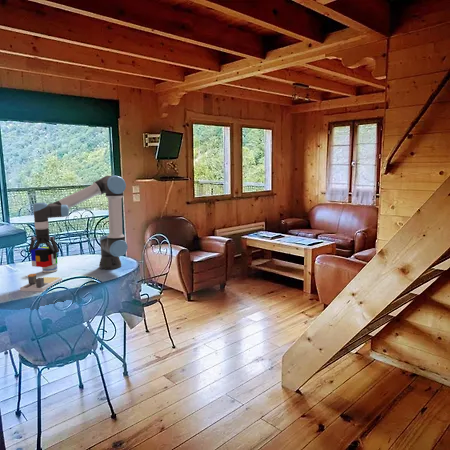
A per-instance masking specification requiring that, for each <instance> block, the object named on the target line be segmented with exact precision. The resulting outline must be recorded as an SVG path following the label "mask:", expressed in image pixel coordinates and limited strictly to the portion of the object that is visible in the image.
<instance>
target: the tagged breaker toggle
mask: <svg viewBox="0 0 450 450" xmlns="http://www.w3.org/2000/svg"><path fill="white" fill-rule="evenodd" d="M27 278H28V279H27V280H28V284H34V283H36V279H37V273H29V274H27Z"/></svg>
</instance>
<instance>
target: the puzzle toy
mask: <svg viewBox="0 0 450 450" xmlns="http://www.w3.org/2000/svg"><path fill="white" fill-rule="evenodd" d="M57 253H58V252H57ZM57 253H56V257H57V258H56V259H55V260H56V264H57V265H58V254H57ZM51 254H52V252H51V250H50V249H49V247H48V246H41V247H38V248H37V249H33V250H31V253H30V258H31V266H32V267H37V268H42V267H48V266H51V265H54V264H52V255H51Z"/></svg>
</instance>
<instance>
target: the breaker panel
mask: <svg viewBox="0 0 450 450" xmlns="http://www.w3.org/2000/svg"><path fill="white" fill-rule="evenodd" d="M40 278H44V286H42V287H36V283H34V284H29V283H27V284H25V285H23V286H21V287H19V291H20V292H45V291H47V290H48V289H47V288H48V287H50V286H52V285H53V284H55V283H57V282H59V281H61V280H62V281H63V277H57V276H56V277H53V276H50V277H48V276H44V277H40ZM62 281H61V282H62ZM59 283H60V282H59ZM52 287H53V286H52ZM50 288H51V287H50ZM46 289H47V290H46ZM44 290H45V291H44Z"/></svg>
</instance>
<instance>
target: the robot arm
mask: <svg viewBox="0 0 450 450" xmlns="http://www.w3.org/2000/svg"><path fill="white" fill-rule="evenodd" d="M126 188H127V184H126V181H125V179H124V178H123V177H121V176H118V175H105V176H103V177H101V178H100V179H98V180H96V181H93V183H92V184H91V185H89V186H86V187H85V188H82V189H80V190H78V191H76V192H74V193H72V194H70V195H67V196H65V197H63V198H61V199H58V200H56V201H55V202H51V203H48V204H47V202H35V203H33V211H32V212H33V220H34V229H35V230H34V231H35V232H34V233H35V236H34V235H33V236H31V237H30V245H29V248H28V253H30V254H31V250H33V249H37V248H40V245H41V244H43V245H46V247H49V249H50V250H51V252H52V254H51V255H52V264H56V260H55V259H56V258H57V259H58V256H57V257H56V253H60V249H59V247H58V244H57V242H56V240H55V239H56V238H55V236H50V229H49V227H50V226H49V219H51V218H53V219H55V218H64V217H65V218H66V217H68V216H69V214H70V210H69V209H71V208H72V207H75V206H78V205H79V204H81V203H84V202H86V201H88V200H90V199H92V198H94V197H96V196H98V195H99V196H102V195H105V197H106V198H107V201H108V203H107V204H108V205H107V207H108V229H109V230H108V232H109V233H108V234H107V235H105V234H104V235H101V236H100V237H99V242H100V243H99V245H100V255H101V257H100V261H99V265H98V267H99V269H100V270H115V269H119V268H121V267H122V261H121V259H120V257H122V256H124V255H125V254H126V253H127V251H128V248H129V247H128V243H127V241H126V236H125V234H123V211H122V207H123V206H122V205H123V204H122V198H123V197H125V196H124V195H125V194H124V192H125V190H126Z"/></svg>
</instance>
